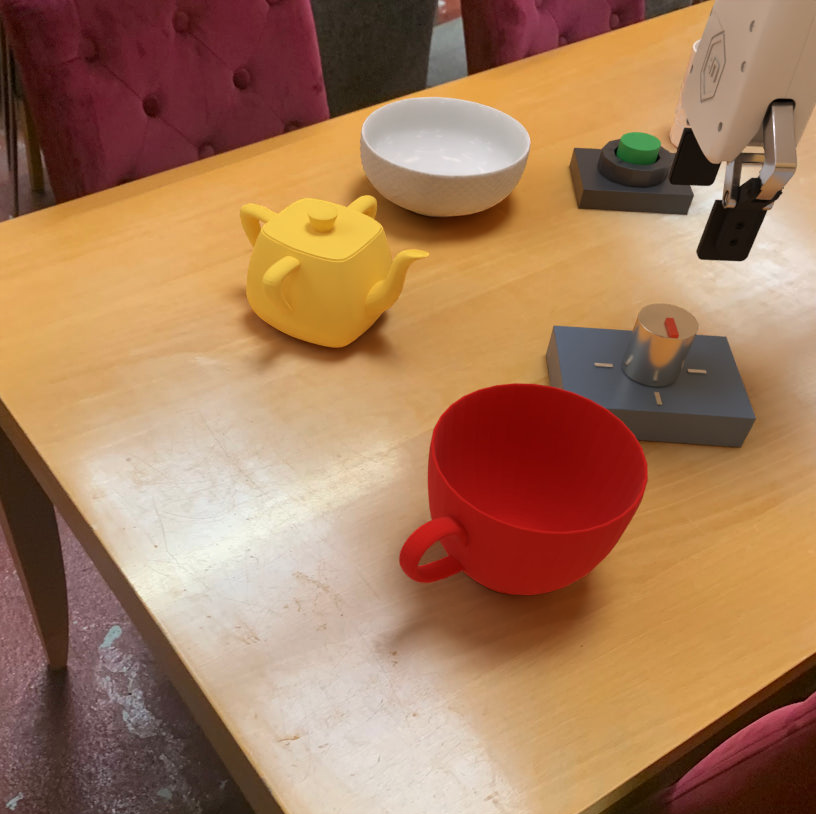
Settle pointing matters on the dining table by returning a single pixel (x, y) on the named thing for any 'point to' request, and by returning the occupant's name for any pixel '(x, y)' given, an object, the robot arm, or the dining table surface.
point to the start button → (638, 148)
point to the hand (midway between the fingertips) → (704, 218)
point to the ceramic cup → (526, 489)
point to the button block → (626, 182)
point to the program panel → (656, 406)
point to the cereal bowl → (443, 155)
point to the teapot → (322, 268)
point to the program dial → (659, 344)
